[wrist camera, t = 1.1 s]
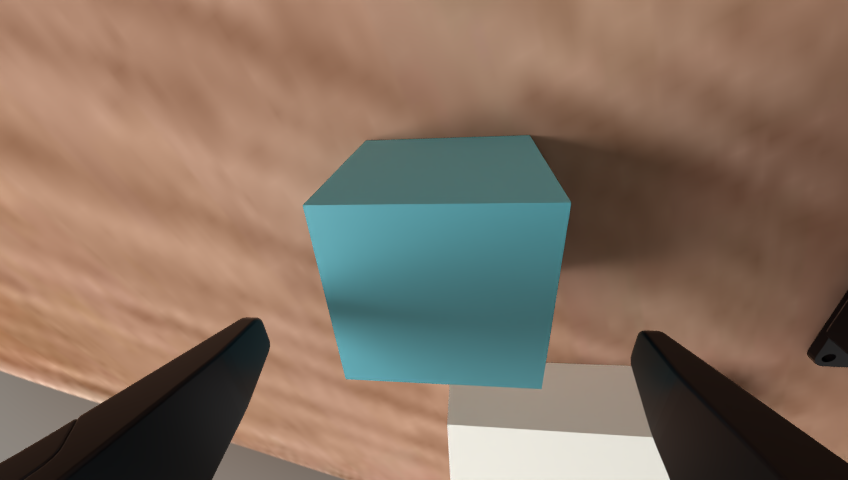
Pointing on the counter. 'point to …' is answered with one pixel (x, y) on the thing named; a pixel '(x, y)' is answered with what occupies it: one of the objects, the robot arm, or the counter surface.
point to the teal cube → (442, 259)
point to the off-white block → (554, 428)
